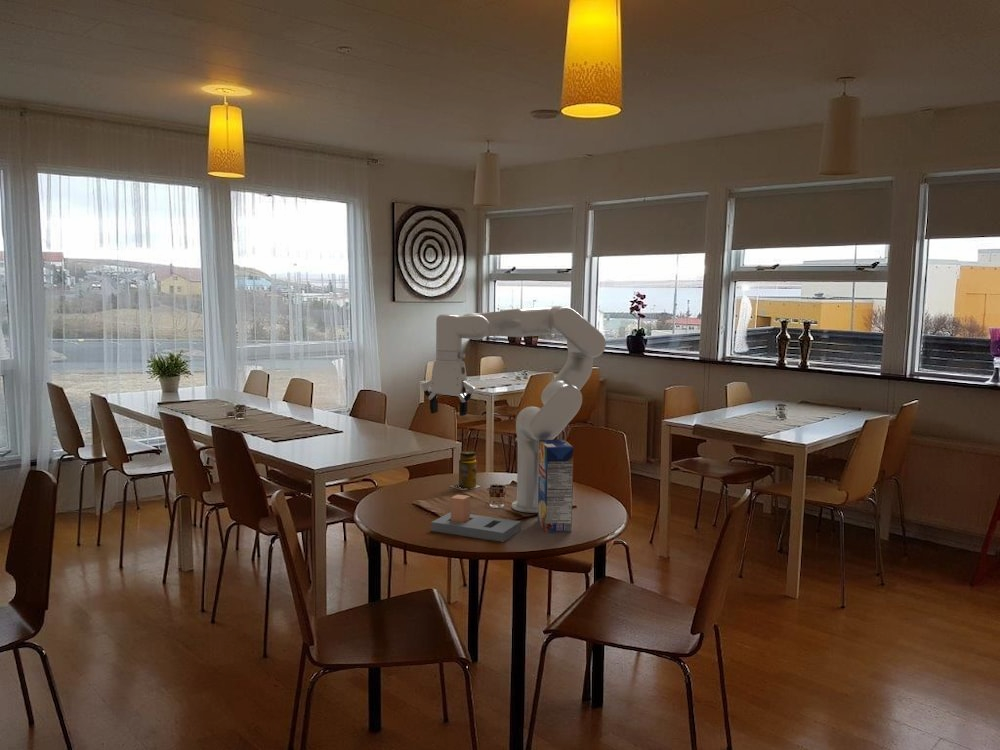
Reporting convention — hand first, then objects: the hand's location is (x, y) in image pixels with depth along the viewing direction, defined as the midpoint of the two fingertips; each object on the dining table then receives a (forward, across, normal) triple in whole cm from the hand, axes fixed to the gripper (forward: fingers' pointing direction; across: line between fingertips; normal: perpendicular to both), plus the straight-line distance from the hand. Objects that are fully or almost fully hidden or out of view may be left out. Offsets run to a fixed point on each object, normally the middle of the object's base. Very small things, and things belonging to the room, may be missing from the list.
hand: (448, 414), depth 226 cm
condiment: (+31, +11, -33) cm, 46 cm away
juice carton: (+31, -33, -3) cm, 45 cm away
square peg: (+30, -10, +11) cm, 34 cm away
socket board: (+30, -15, +11) cm, 36 cm away
